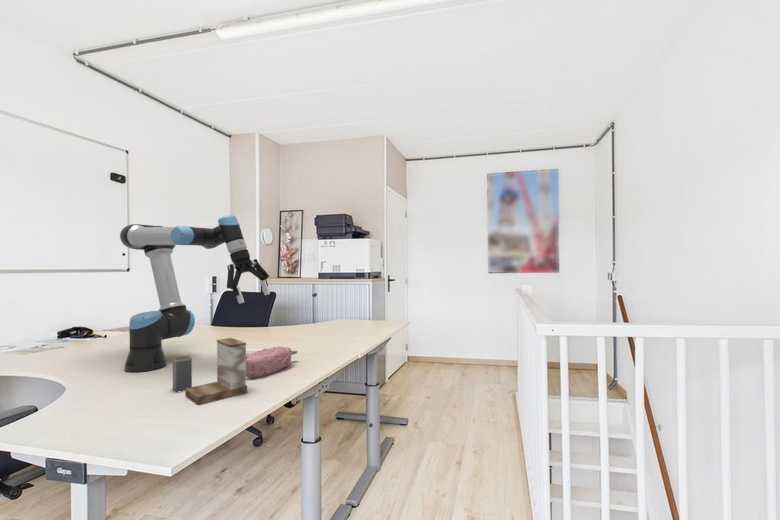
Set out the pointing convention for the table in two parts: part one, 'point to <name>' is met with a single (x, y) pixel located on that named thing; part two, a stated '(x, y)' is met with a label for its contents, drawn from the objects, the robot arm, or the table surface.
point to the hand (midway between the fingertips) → (255, 298)
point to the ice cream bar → (267, 361)
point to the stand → (224, 374)
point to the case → (182, 373)
